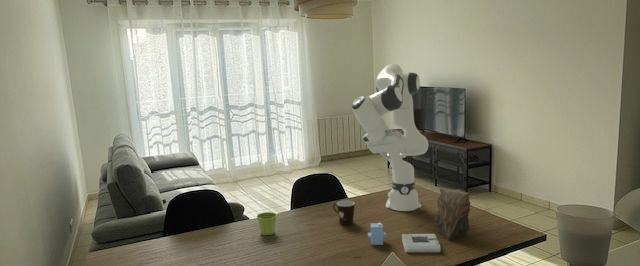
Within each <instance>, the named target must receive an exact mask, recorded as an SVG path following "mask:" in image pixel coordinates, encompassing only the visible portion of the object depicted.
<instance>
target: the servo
mask: <svg viewBox="0 0 640 266" xmlns="http://www.w3.org/2000/svg"><path fill="white" fill-rule="evenodd" d="M367 238H370V244H371V246H383V245H384V238H387V234H386V232H385V231H384V226H383V223H381V222H378V223H376V222H375V223H372V222H371V223H370V232H367Z"/></svg>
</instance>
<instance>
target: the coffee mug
mask: <svg viewBox="0 0 640 266" xmlns="http://www.w3.org/2000/svg"><path fill="white" fill-rule="evenodd" d="M355 204H356V203H355V202H354V201H352V200H341V201H338V202H336V203H333V205H332V207H333V210H334V212H336V213H337V215H338V221H339V224H340V225H341V226H348V227H349V226H352V225H353V224H354V216H355ZM335 206H337V210H336V208H335Z"/></svg>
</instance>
